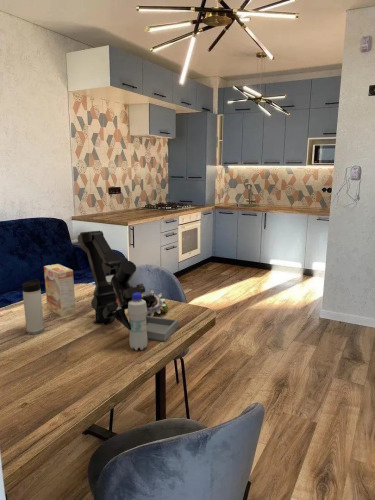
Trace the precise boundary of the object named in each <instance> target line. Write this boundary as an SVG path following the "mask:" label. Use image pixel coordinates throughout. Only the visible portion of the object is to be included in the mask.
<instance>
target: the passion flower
mask: <svg viewBox="0 0 375 500" xmlns="http://www.w3.org/2000/svg"><path fill="white" fill-rule="evenodd" d="M151 294H152V295H154V296H155V298H156V301H155V303H154V304H153V305H152V307H150V308H147V316H152V317H154V315H155V312H156V313H157V314H161V308H163V310H164V311H165V312H166V313H168V309H169V306H168V305H167V303H166V301H165V300H166V299H165V298H162V295H163V294H162V293H157V294H156V293H155V292H154V290H153V289H151V290H150V291H149V292H148V293H147V294H142V298H143V297H144V296H147V295H151Z"/></svg>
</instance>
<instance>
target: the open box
mask: <svg viewBox="0 0 375 500" xmlns="http://www.w3.org/2000/svg"><path fill="white" fill-rule="evenodd" d="M179 325H180V323H179V319H174V318H166V317H159V316H153V317H152V316H150V315H147V340H151V341H156V342H162V343H165V342H167V341H168V339H169V338H170V337H171V336H172V335H173V333H175V332H176V331H177V329H178V328H179V327H180V326H179Z"/></svg>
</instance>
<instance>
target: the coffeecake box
mask: <svg viewBox="0 0 375 500" xmlns="http://www.w3.org/2000/svg"><path fill="white" fill-rule="evenodd" d="M43 273H44V274H43V275H44V284H45V285H44V287H45V297H46V308H47V309H48V308H49V310H50V311H51V312H54V313H55V314H56V315H58V316H60V317H65V316H69V315H72V314H76V313H77V312H76V311H77V310H76V309H77V308H76V299H75V298H76V296H75V282H74V270H73V269H71V268H69V267H66V266H64V265H62V264H60V263H56V264H51V265H50V264H48V265H45V266H43Z"/></svg>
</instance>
